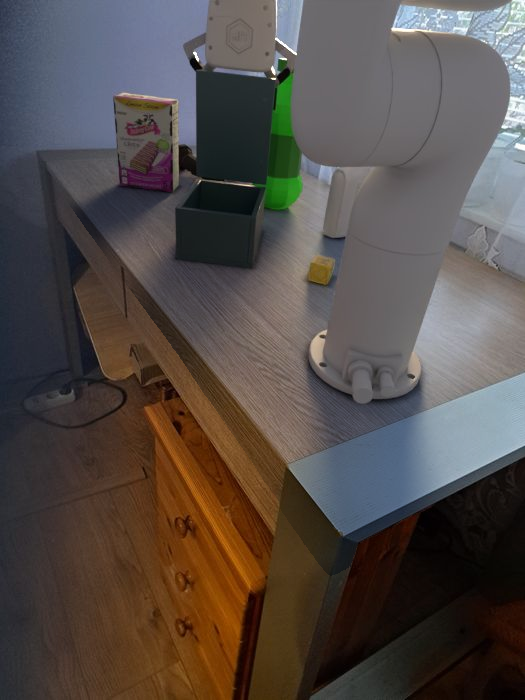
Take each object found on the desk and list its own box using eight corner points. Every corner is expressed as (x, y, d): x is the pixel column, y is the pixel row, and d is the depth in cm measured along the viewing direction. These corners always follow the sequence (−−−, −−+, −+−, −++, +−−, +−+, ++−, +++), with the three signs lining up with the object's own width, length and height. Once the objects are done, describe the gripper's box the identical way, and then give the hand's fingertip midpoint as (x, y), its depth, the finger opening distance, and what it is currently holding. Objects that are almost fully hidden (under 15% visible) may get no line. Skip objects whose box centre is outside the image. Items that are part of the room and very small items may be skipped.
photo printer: (360, 224, 91) (374, 156, 84) (376, 232, 89) (392, 163, 82) (318, 232, 86) (330, 160, 79) (333, 241, 84) (347, 167, 76)
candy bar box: (118, 186, 97) (111, 95, 87) (127, 179, 101) (120, 91, 91) (173, 193, 96) (172, 102, 87) (179, 186, 100) (178, 98, 91)
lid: (275, 79, 69) (278, 72, 74) (195, 70, 70) (203, 63, 74) (266, 185, 79) (269, 173, 83) (196, 176, 79) (203, 165, 84)
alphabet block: (332, 277, 72) (335, 258, 71) (327, 285, 70) (331, 266, 68) (312, 272, 73) (315, 253, 71) (307, 280, 71) (310, 261, 69)
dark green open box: (252, 268, 72) (256, 218, 68) (175, 258, 73) (175, 208, 68) (262, 231, 84) (266, 187, 80) (196, 223, 85) (196, 178, 80)
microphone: (235, 203, 103) (179, 167, 113) (244, 177, 101) (187, 142, 110) (217, 200, 99) (160, 162, 109) (227, 173, 97) (168, 137, 106)
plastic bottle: (305, 215, 93) (326, 65, 78) (250, 212, 92) (261, 59, 77) (298, 198, 101) (316, 59, 86) (248, 195, 100) (258, 53, 85)
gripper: (176, -34, 64) (178, 109, 74) (306, -20, 63) (291, 122, 73) (189, -30, 70) (189, 101, 80) (308, -17, 69) (293, 113, 79)
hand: (238, 111), depth 77 cm, fingers open, 9 cm apart
